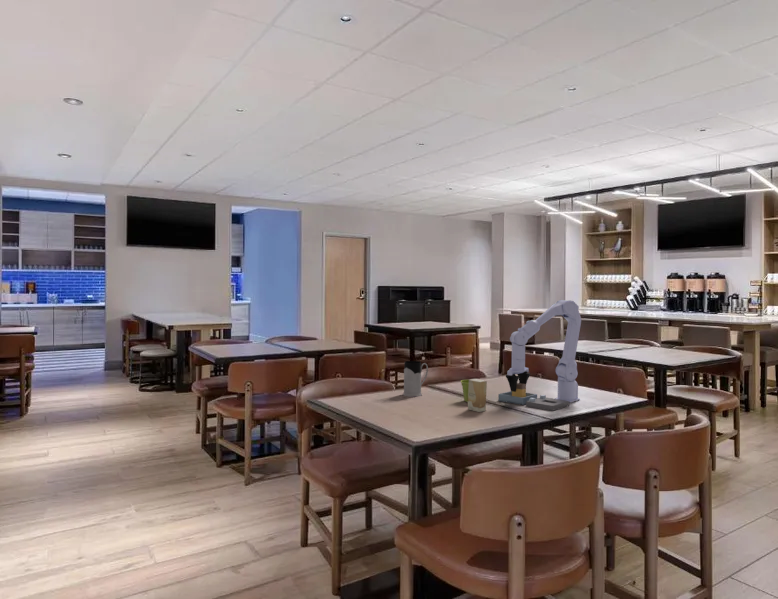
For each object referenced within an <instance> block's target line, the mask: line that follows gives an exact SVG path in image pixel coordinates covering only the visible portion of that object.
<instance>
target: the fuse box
mask: <svg viewBox="0 0 778 599" xmlns="http://www.w3.org/2000/svg"><path fill="white" fill-rule="evenodd" d="M569 404H570V402H569V401H566V400H559V399H555V398H553V397H547V396H546V394H540V396H539V397H537V399H535V398H529V401H526V404H525V407H528V408H533V409H540V410H544V411H551V412H553V411H557V410H560V409H562V408H566V407H569V406H570V405H569Z"/></svg>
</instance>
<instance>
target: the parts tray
mask: <svg viewBox="0 0 778 599" xmlns="http://www.w3.org/2000/svg"><path fill="white" fill-rule="evenodd" d="M497 398H498V402H502V403H503V402H504V403H509V404H513V403H514V404H515V405H519V404H520V405H521V406H526V401H529V398H535V399H537V398H538V394H537V393H531V392H526V397H523V398H522V397H515V396H512V391H511V390H510V391H506V392H502V393H498V397H497ZM520 405H519V406H520Z"/></svg>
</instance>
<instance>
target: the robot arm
mask: <svg viewBox="0 0 778 599" xmlns="http://www.w3.org/2000/svg"><path fill="white" fill-rule="evenodd" d="M579 308H580V307H579V305H578V304H577V303H576V302H575V301H574V300H565V299H559V300H557V301H556V302H555V303H553V304H552V305H551V306H550V307H549V308H547V309H546V310H545V311H544V312H543V313H542V314H540V315H539V316H538V317H537V318H536V319H535V320H533V319H531V320H527V321H526V322H525V324H524V325H522V327H518V328H517V331H513V332H512V333H511V335H510V337H509V341H510V342H511V367H510V368H509V370H507V372H506V373H507V374H505V378H506V380H507V382H508V385H509V388H510V391H513V392H516V388H517V383H522V384H526V385H527V384H528V380H529V378H530V376H531V372H530V370H529V369H530V368H529V367H526V344H527V343H528V340H529V339H530V338H532V337H533V336H534V335H536V334H537V333H538V332H539V331H540V329H541V326H542V325H544V324H545V323H546V322H549V320H551V319H552V318H554V317H556V316H562V317H563V318H564V319H565V320H566V321H567V328H566V333H565V338H564V344H563V345H564V346H563V351H562V355H561V358H560V359H559V361H558V364H557V366H556V367H555V374H556V375H557V397H556V398H554V399H559V400H566V401H569V403H573V402H577V401H580V397H579V384H578V382H577V381H576V379H577V377H578V375H579V374H578V364H577V361H576V355H577V348H578V344H579V336H580V330H581V324H582V317H581V314H580V311H579V310H580V309H579Z"/></svg>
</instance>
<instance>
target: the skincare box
mask: <svg viewBox="0 0 778 599" xmlns="http://www.w3.org/2000/svg"><path fill="white" fill-rule="evenodd" d="M468 380H469V387H468V402H467V410H470V411H474V412H477V413H481V412H486V411H487V389H488V388H487V387H488V386H487V385H488V384H487V382H488V381H487V380H484V379H479V378H471V379H468Z"/></svg>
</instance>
